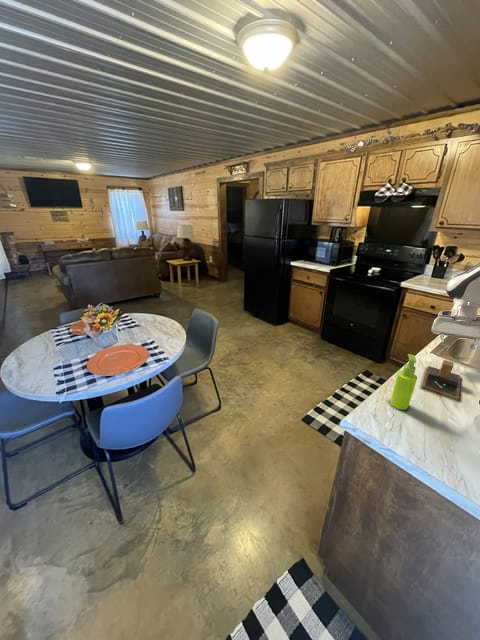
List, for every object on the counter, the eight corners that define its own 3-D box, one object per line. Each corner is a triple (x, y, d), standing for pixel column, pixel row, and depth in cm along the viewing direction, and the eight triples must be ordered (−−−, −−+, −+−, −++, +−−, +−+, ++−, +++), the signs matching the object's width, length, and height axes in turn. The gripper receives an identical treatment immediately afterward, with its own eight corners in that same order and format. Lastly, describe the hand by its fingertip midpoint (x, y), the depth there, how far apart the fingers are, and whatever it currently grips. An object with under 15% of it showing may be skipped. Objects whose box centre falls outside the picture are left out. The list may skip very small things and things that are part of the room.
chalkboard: (427, 367, 122) (427, 365, 122) (459, 377, 115) (460, 375, 115) (421, 388, 108) (422, 386, 107) (458, 400, 101) (459, 398, 100)
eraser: (456, 382, 110) (463, 364, 107) (456, 387, 106) (463, 370, 103) (428, 373, 116) (434, 356, 112) (427, 378, 112) (433, 361, 109)
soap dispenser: (406, 400, 101) (420, 355, 93) (408, 411, 95) (424, 364, 87) (389, 395, 103) (401, 351, 95) (390, 406, 97) (403, 360, 89)
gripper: (494, 323, 110) (489, 354, 107) (434, 316, 123) (428, 343, 120) (497, 317, 105) (492, 349, 102) (435, 311, 118) (429, 339, 115)
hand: (457, 346), depth 111 cm, fingers open, 8 cm apart
